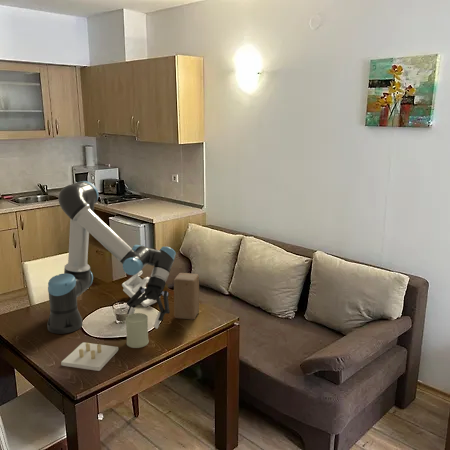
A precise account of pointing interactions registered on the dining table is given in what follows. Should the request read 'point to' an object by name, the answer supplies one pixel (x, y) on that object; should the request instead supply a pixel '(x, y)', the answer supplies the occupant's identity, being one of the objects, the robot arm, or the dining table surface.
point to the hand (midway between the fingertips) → (141, 325)
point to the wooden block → (186, 295)
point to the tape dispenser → (137, 287)
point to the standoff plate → (90, 356)
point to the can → (137, 330)
